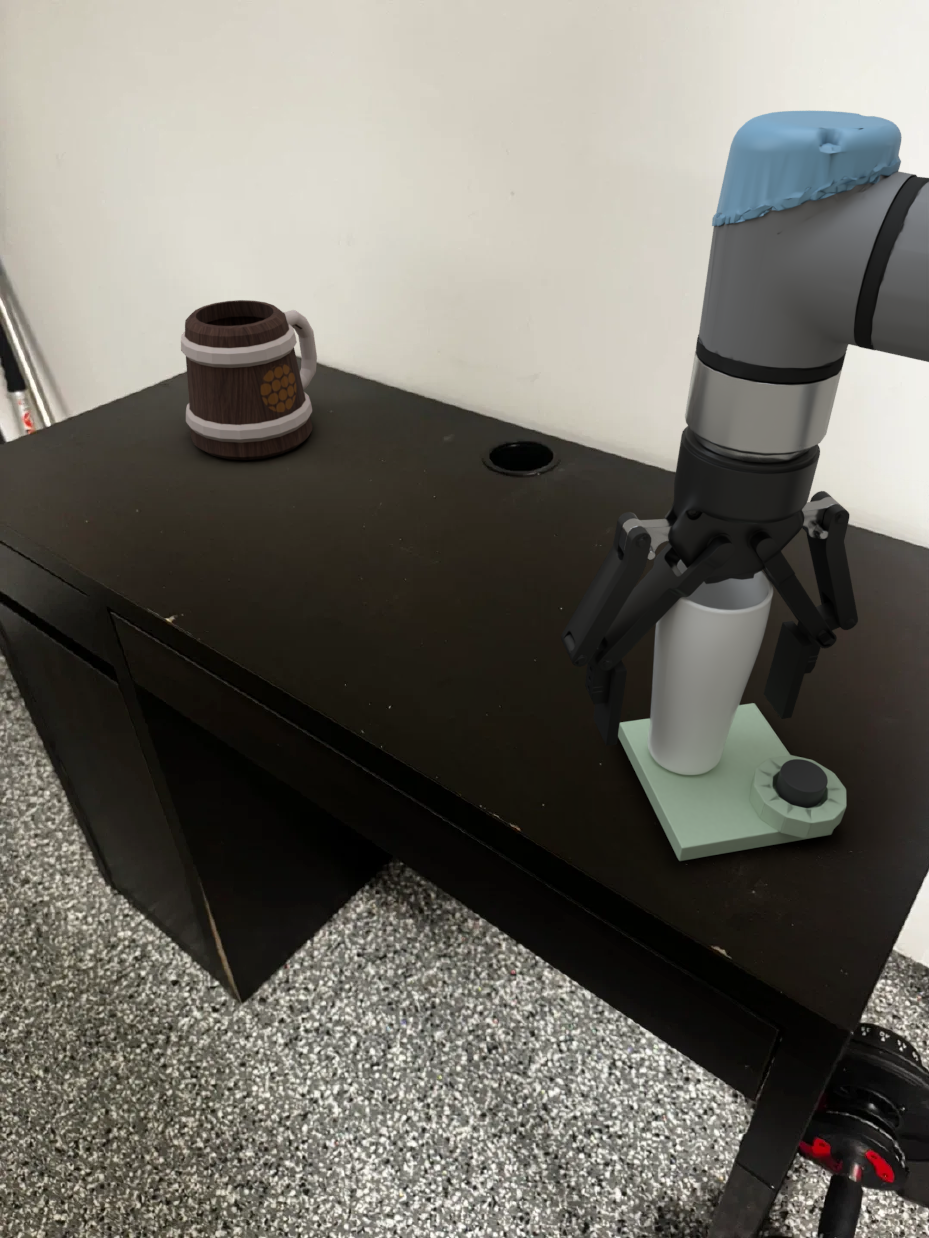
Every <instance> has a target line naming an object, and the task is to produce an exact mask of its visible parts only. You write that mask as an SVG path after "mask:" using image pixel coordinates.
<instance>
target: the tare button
mask: <svg viewBox="0 0 929 1238" xmlns="http://www.w3.org/2000/svg"><path fill="white" fill-rule="evenodd" d="M827 783H828V779H827V776H826V774H825V772H824V771H823V770H822V769H821V768H820V767H819V766H818V765H816V764H814V763H812V762H810V761H807V760H802V759H793V760H789V761H787V762H785V763H784V764H783V765H782V767H781V769H780V773H779V776H778V779H777V782H776V789H777V792H778V794H779V795H780V797H781V798H782V799H783V800H785V801H786V802H788V803H789V804H791V805H794V806H798V807H803V808H810V807H814V806H816V805H818V804H819V803H820V802H821V800H822V798H823V795H824V792H825V789H826V786H827Z"/></svg>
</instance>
